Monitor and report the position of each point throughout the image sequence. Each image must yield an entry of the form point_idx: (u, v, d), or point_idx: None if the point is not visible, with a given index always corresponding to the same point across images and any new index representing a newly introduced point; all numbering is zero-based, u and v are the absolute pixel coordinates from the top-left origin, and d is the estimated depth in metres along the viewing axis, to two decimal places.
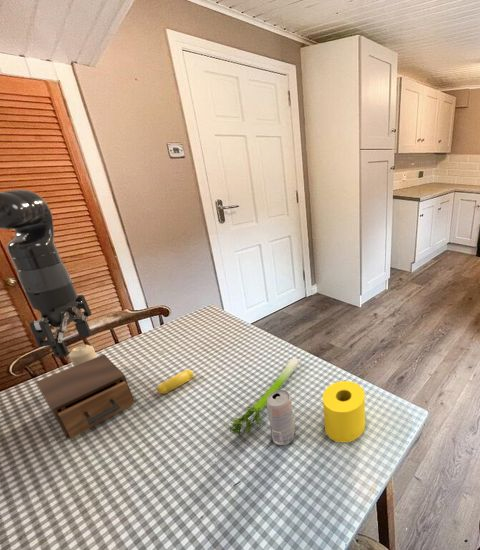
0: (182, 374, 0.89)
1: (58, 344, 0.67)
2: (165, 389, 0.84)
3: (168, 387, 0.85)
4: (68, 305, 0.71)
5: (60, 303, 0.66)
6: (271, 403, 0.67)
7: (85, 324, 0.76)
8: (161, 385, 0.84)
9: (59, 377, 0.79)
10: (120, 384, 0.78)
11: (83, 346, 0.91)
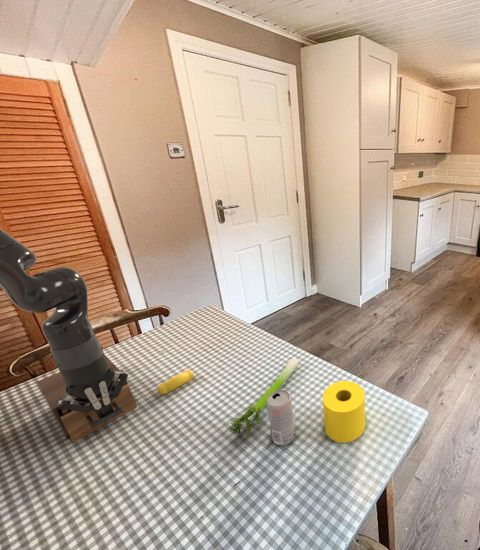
0: (183, 375, 0.88)
1: (97, 409, 0.70)
2: (166, 390, 0.84)
3: (169, 388, 0.85)
4: (99, 378, 0.69)
5: (74, 383, 0.64)
6: (271, 403, 0.67)
7: (105, 407, 0.71)
8: (162, 386, 0.84)
9: (59, 377, 0.79)
10: (123, 387, 0.77)
11: None
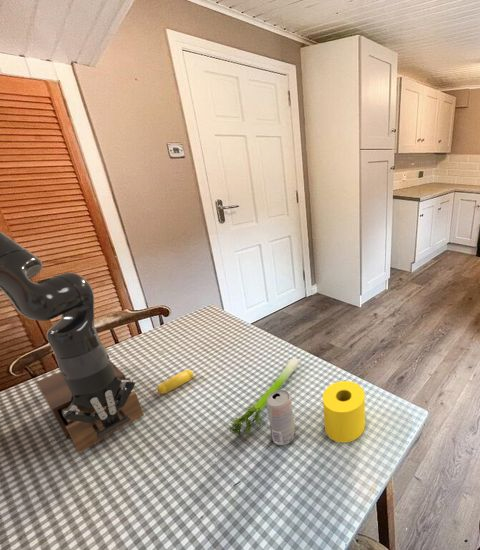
0: (182, 374, 0.89)
1: (103, 419, 0.68)
2: (165, 389, 0.84)
3: (168, 387, 0.85)
4: (105, 387, 0.66)
5: (80, 393, 0.62)
6: (271, 403, 0.67)
7: (110, 417, 0.69)
8: (161, 385, 0.84)
9: (59, 377, 0.79)
10: (130, 395, 0.74)
11: None
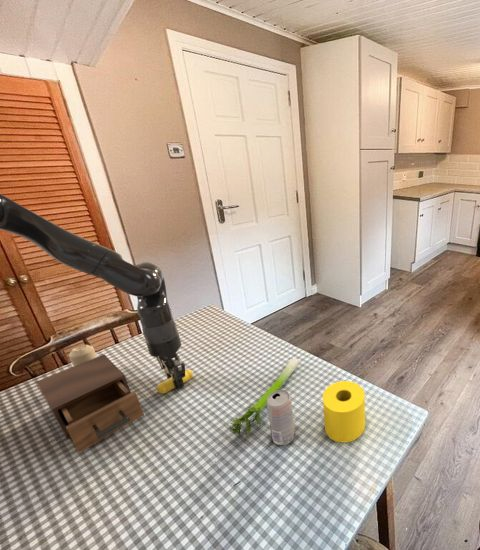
0: None
1: None
2: (164, 388, 0.85)
3: (167, 386, 0.85)
4: None
5: (179, 345, 0.84)
6: (271, 403, 0.67)
7: None
8: (160, 384, 0.85)
9: (59, 377, 0.79)
10: (130, 395, 0.74)
11: (83, 346, 0.91)
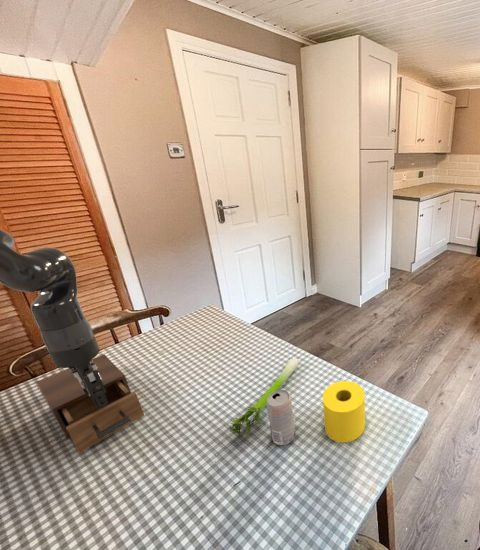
0: None
1: (102, 393, 0.68)
2: None
3: None
4: None
5: (95, 353, 0.67)
6: (271, 403, 0.67)
7: None
8: None
9: (59, 377, 0.79)
10: (130, 395, 0.74)
11: None
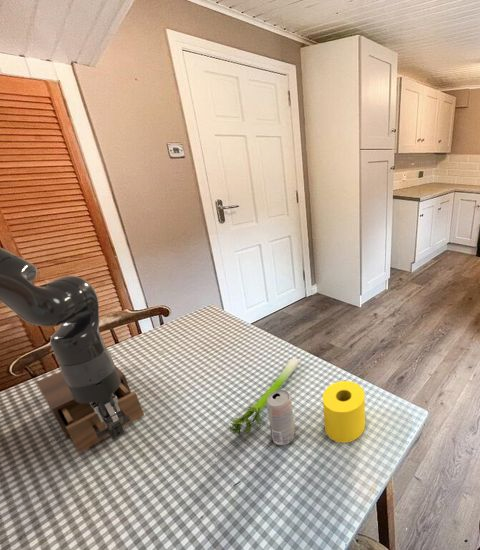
0: None
1: None
2: None
3: None
4: None
5: (117, 385, 0.63)
6: (271, 403, 0.67)
7: None
8: None
9: (59, 377, 0.79)
10: (130, 395, 0.74)
11: None
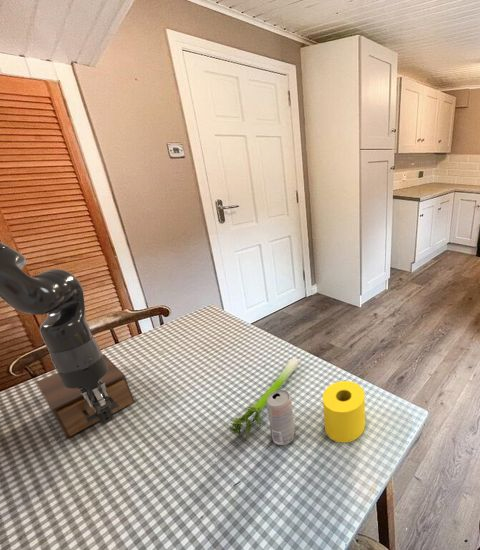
0: None
1: None
2: None
3: None
4: None
5: (104, 372, 0.67)
6: (271, 403, 0.67)
7: None
8: None
9: (59, 377, 0.79)
10: (119, 382, 0.78)
11: None
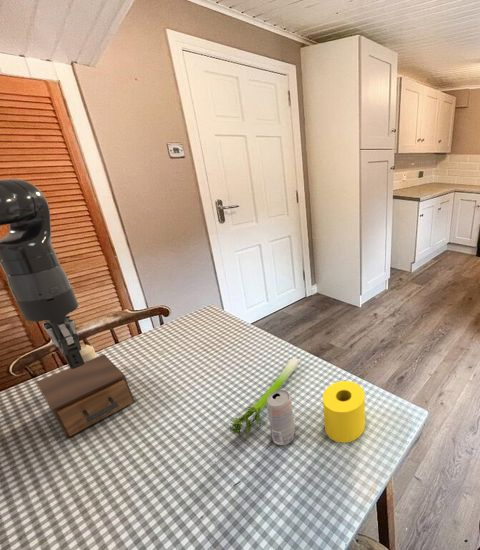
0: None
1: (77, 351, 0.62)
2: None
3: None
4: None
5: (73, 307, 0.59)
6: (271, 403, 0.67)
7: None
8: None
9: (59, 377, 0.79)
10: (119, 382, 0.78)
11: (83, 346, 0.91)
